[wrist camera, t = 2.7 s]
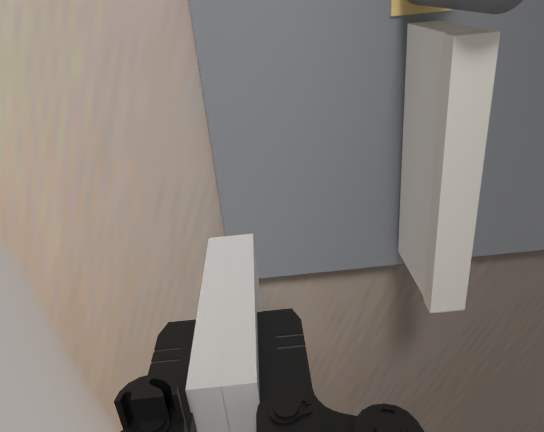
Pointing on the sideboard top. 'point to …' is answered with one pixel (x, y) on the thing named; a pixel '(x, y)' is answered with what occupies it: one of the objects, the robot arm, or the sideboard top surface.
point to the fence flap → (444, 154)
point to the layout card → (353, 127)
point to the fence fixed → (472, 5)
